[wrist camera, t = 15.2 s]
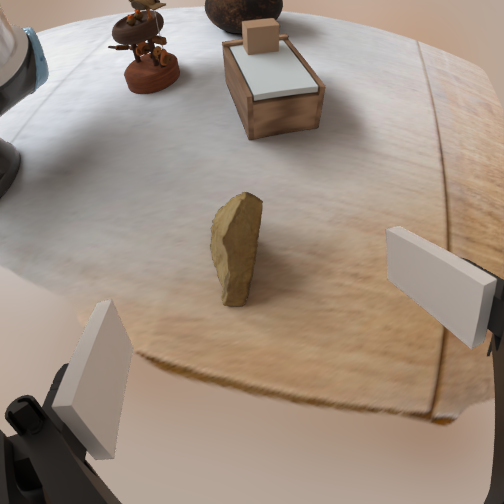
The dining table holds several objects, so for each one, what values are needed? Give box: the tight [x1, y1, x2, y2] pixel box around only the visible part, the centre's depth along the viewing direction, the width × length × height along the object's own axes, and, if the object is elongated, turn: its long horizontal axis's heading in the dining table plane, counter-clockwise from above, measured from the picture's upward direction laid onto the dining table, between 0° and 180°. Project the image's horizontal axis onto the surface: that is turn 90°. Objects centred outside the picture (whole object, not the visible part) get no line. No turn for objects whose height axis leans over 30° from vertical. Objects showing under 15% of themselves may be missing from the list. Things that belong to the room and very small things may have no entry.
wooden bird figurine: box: [108, 0, 180, 94], centre depth 45 cm, size 15×11×20 cm
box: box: [222, 34, 325, 140], centre depth 45 cm, size 11×16×9 cm
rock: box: [210, 192, 263, 306], centre depth 35 cm, size 11×9×10 cm
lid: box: [230, 18, 318, 101], centre depth 40 cm, size 9×15×6 cm, turn 15°
